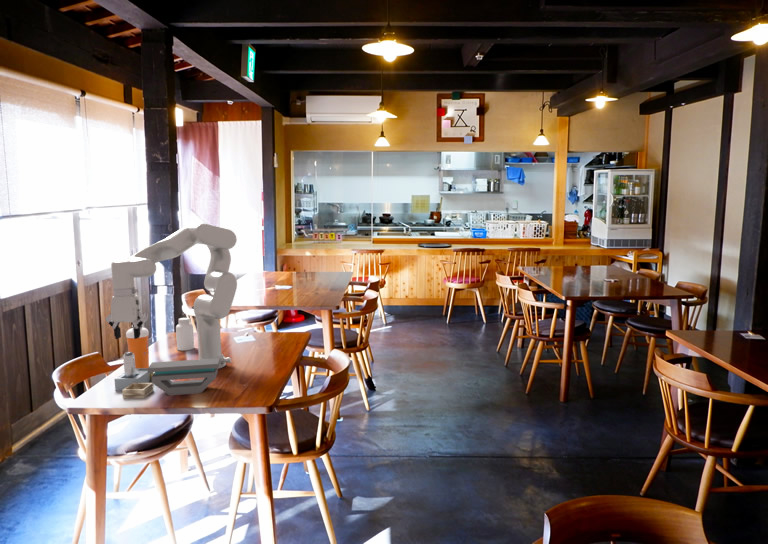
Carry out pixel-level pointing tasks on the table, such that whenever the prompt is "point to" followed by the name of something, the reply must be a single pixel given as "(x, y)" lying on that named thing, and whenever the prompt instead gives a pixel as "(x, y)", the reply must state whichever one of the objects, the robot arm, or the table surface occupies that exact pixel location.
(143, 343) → the shaker bottle
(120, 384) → the socket block
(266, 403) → the table surface
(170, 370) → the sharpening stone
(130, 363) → the drill peg
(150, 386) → the wooden tray
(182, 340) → the pill bottle
